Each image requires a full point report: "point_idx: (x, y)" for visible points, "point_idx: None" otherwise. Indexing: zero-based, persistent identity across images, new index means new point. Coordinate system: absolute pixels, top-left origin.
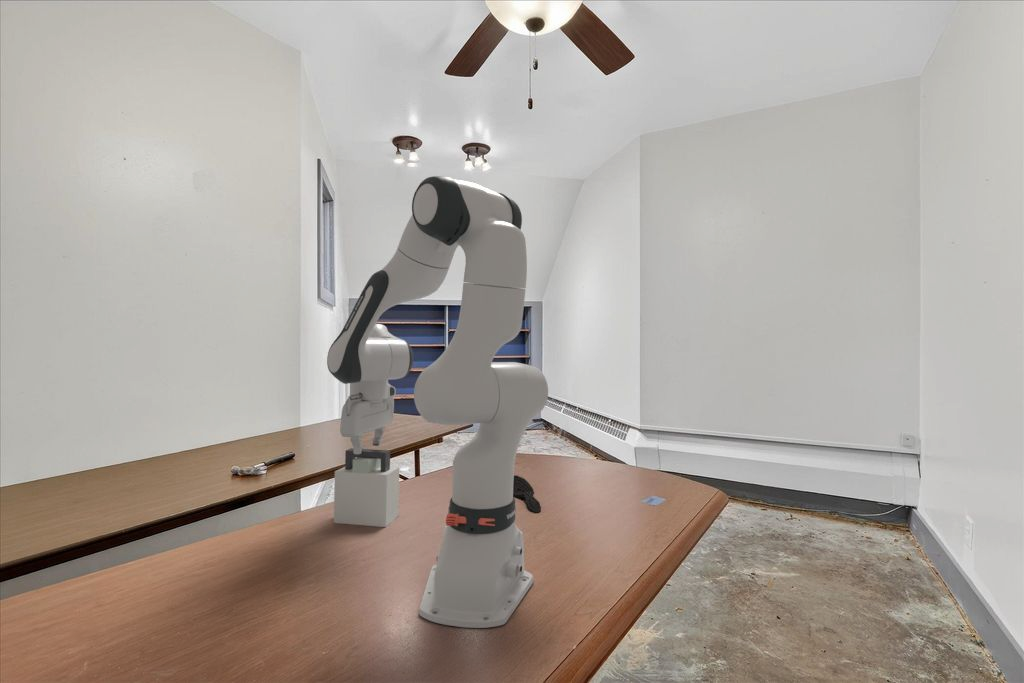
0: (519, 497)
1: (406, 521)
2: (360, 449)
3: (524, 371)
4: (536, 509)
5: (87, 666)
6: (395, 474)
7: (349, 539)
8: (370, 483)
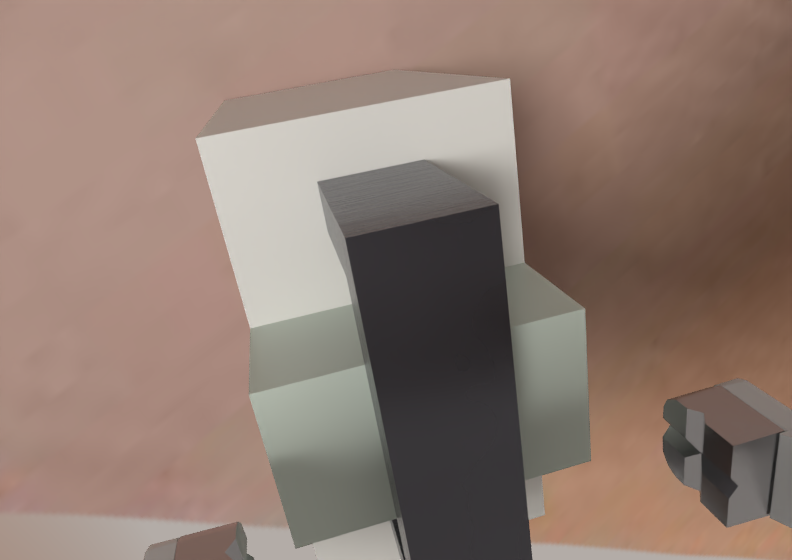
0: None
1: (269, 3)
2: (779, 403)
3: None
4: None
5: None
6: (294, 113)
7: (573, 146)
8: None
